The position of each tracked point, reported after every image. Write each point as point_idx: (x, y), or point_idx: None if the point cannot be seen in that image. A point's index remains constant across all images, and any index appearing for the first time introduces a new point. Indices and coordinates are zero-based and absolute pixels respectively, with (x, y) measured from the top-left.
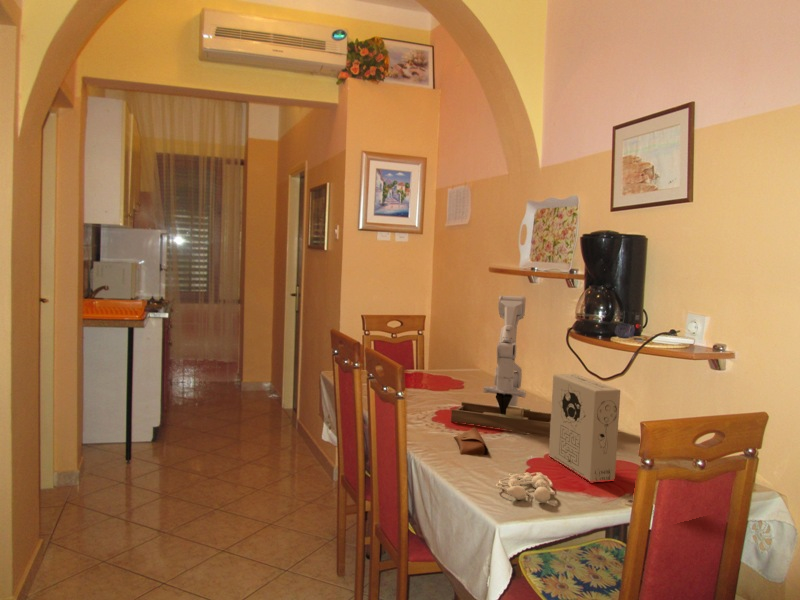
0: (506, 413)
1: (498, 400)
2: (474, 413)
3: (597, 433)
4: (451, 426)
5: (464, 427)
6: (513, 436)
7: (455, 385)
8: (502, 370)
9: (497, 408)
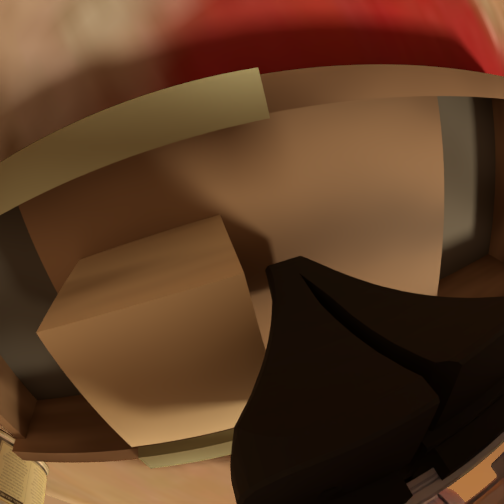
0: (225, 244)
1: (447, 307)
2: (474, 71)
3: None
4: (463, 12)
5: (422, 15)
6: (46, 29)
7: None
8: None
9: None
